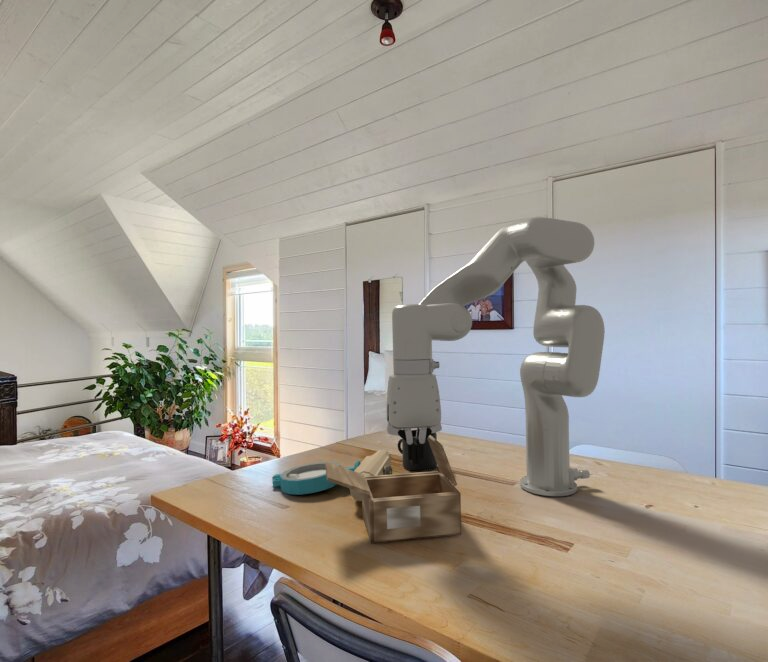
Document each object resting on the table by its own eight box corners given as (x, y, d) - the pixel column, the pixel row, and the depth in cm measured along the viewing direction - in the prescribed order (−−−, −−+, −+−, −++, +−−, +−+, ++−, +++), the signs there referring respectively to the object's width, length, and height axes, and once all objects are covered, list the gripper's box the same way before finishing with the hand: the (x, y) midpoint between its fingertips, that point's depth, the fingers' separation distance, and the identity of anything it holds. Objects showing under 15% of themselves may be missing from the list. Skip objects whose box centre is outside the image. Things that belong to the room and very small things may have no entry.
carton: (441, 507, 97) (440, 470, 97) (463, 536, 83) (462, 494, 83) (362, 514, 95) (361, 476, 95) (371, 546, 81) (370, 502, 81)
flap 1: (363, 474, 93) (326, 461, 91) (370, 491, 83) (328, 477, 82) (362, 477, 93) (325, 464, 91) (368, 494, 83) (327, 480, 82)
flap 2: (454, 486, 85) (439, 446, 85) (439, 469, 95) (425, 434, 95) (457, 484, 85) (442, 445, 85) (442, 468, 95) (428, 433, 95)
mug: (407, 458, 135) (406, 427, 135) (443, 464, 127) (442, 432, 127) (388, 466, 127) (387, 433, 127) (425, 473, 120) (424, 439, 120)
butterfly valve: (250, 517, 101) (382, 510, 95) (246, 486, 101) (378, 476, 95) (297, 478, 127) (403, 470, 122) (293, 453, 128) (399, 444, 122)
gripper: (444, 365, 94) (446, 455, 94) (371, 368, 92) (374, 460, 92) (456, 368, 87) (458, 466, 87) (377, 371, 84) (379, 471, 84)
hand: (415, 462), depth 89 cm, fingers closed
